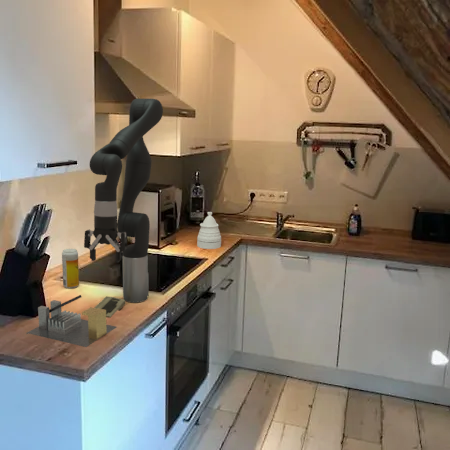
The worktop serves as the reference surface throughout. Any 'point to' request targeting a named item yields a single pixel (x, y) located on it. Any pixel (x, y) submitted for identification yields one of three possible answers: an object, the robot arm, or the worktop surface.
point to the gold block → (96, 322)
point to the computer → (111, 305)
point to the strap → (64, 303)
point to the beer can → (70, 268)
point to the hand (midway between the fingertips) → (105, 261)
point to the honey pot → (209, 234)
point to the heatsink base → (64, 326)
